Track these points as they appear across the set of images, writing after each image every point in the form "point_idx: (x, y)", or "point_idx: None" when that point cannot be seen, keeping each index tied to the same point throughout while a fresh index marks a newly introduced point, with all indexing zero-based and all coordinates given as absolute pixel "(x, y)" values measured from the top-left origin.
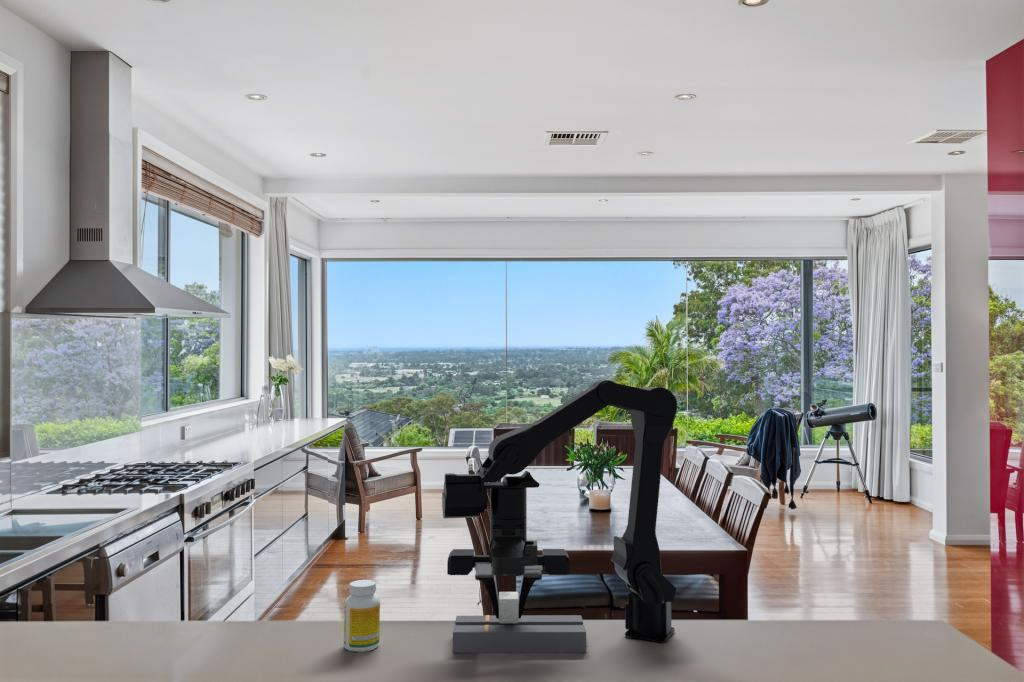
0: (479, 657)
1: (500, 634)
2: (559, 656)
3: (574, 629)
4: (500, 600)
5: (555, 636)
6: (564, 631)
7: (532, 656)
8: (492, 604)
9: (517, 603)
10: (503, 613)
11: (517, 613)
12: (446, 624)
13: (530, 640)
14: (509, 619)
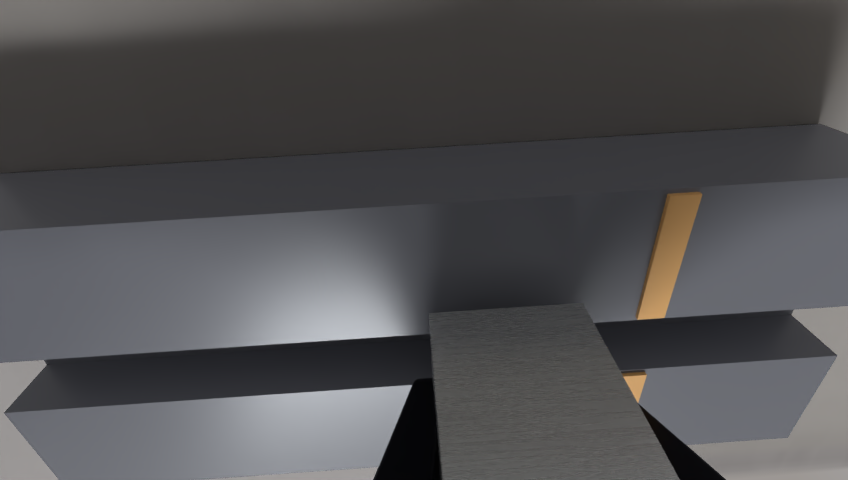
0: (672, 54)
1: (564, 188)
2: (144, 99)
3: None
4: (656, 472)
5: (137, 207)
6: (49, 240)
7: (323, 90)
8: (691, 450)
9: (452, 453)
10: (571, 361)
11: (443, 369)
12: (731, 446)
13: (334, 181)
14: (505, 328)
